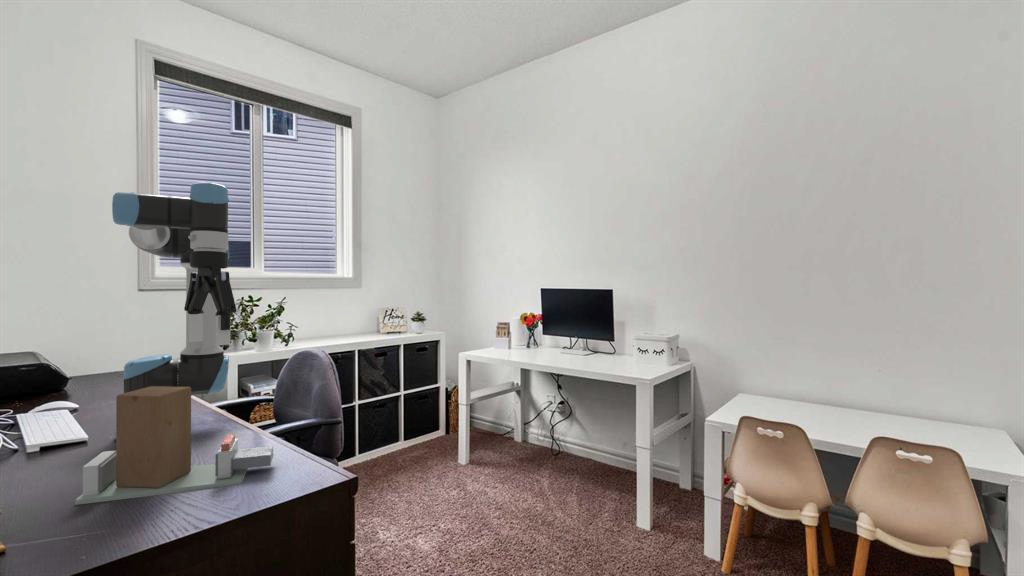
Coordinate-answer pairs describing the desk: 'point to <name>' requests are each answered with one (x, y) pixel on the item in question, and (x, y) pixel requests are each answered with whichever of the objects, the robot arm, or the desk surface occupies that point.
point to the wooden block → (153, 436)
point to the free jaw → (239, 457)
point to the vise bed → (103, 488)
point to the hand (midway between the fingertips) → (209, 343)
